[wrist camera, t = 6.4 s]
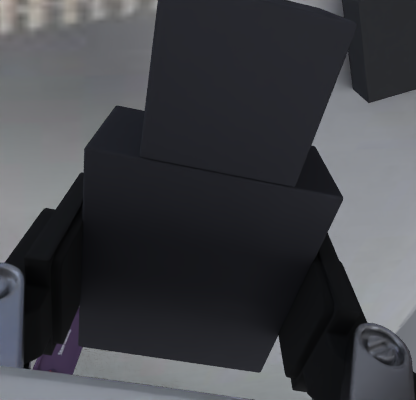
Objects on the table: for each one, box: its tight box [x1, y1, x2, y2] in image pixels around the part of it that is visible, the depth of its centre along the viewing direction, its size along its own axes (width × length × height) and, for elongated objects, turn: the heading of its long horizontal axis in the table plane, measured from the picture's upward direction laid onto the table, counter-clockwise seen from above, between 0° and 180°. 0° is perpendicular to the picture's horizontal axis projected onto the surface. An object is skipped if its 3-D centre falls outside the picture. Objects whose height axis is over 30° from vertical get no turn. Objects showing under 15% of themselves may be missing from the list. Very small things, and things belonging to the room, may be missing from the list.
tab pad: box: [78, 0, 357, 372], centre depth 10 cm, size 6×10×3 cm, turn 168°
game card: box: [33, 308, 82, 375], centre depth 34 cm, size 7×5×9 cm
